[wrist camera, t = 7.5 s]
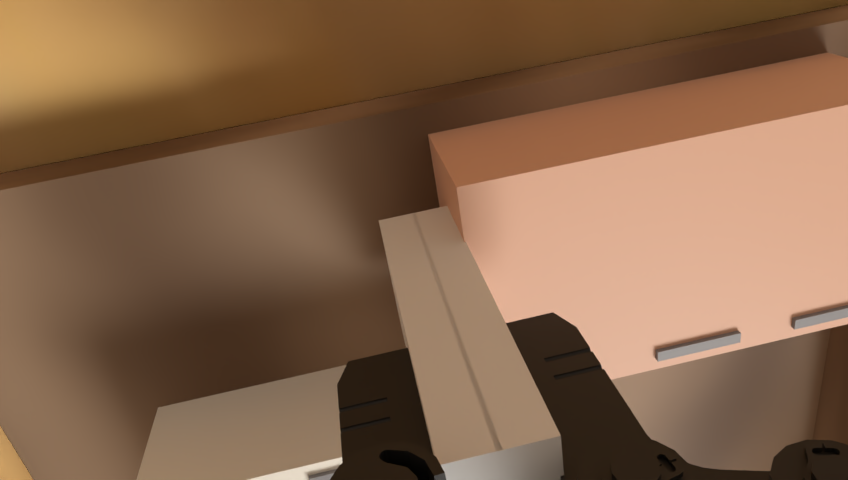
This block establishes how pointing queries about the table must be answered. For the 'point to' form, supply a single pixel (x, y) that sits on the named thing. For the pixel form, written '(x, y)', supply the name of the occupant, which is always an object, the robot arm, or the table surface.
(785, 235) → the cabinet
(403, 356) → the robot arm
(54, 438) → the board
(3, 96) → the table surface
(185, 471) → the cream flat block
